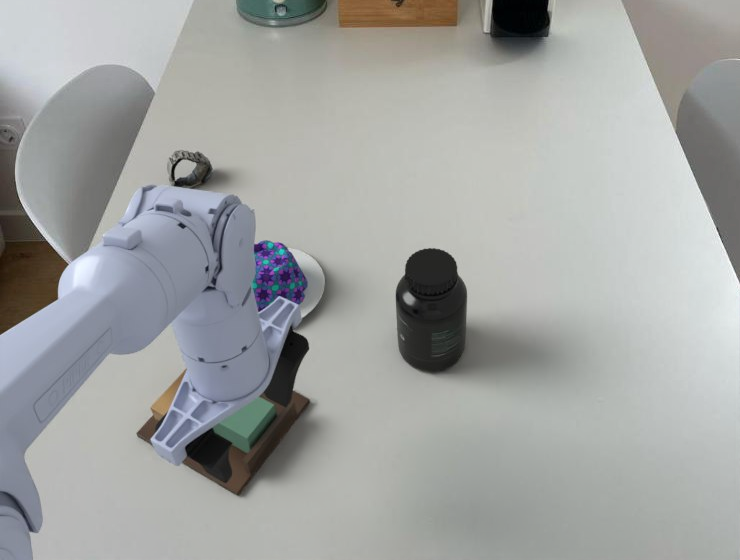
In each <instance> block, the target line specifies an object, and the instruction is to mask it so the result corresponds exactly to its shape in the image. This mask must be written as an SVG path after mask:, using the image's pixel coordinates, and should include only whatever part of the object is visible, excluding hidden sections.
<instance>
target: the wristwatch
mask: <svg viewBox="0 0 740 560" xmlns="http://www.w3.org/2000/svg"><path fill="white" fill-rule="evenodd" d="M183 160H184V161H185V160H186V161H190V162H192V163H195V164H196V166H195V167H194V168H193V170H192V171H191V173H189V174H188V175H187V176H183V177H181V176H180V177H179V178H177V179H176V177H175V176H176V175H175V173H176V172H175V170H176V169H177V166H178V164H179V163H181V162H182V161H183ZM166 170H167V174H168V181H169V183H170V186H175V187H181V188H188V189H193V188H194V187H197V186H198V185H203V184H206V182H207V181H208V179H209V178H210V177H211V175H212V173H213V170H214V168H213V166H212V163H211V161H210V160H209V158H208V157H207V156H205V155H204V154H203V152H200V151H195V152H192V151H189V150H184V149H179V150H175V151H173V153H172V154H171V156H169V157H168V158H167V162H166Z"/></svg>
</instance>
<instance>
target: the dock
mask: <svg viewBox="0 0 740 560" xmlns="http://www.w3.org/2000/svg"><path fill="white" fill-rule="evenodd" d="M186 371H187V368H186V367H185V369H184V370H183V372H182V373H180V374H179V376H178V377H177V378H176V379H175V380H174V381H173V382H172V383H171V385H169V387H168V388H167V389H166V390H165V391H164V392H163V393H162V394H161V395H160V396H159V397H158V398H157V399H156V400H155V401H154V403H153V404H152V405H151V406H150V410H151V412H152V416H151V417H150V418H149V419H148V420H147V421H146V422H145V423H143V425H142V426H141V427H140V428H139V430H137V432H136V433H135V434H136V436H137V437H138V438H139V439H141V440H142V441H144V442H146V443H147V444H149V445H151V446H152V447H153V445H152V442H151V440H150V439H151V438H152V437H153V435H154V434H155V427H156V424H157V423H158V422H159V420H160V419H161V418H162V417H163V416H164V415H165V414H166V413H167V412H168V410H169V408H170V406H171V404H172V402H173V400H174V397H175V395H176V393H177V391H178V388H179V386H180V384H181V382H182V380H183V377H184V375H185V373H186ZM259 397H261V398H263V399H265V400H267V401H268V402H270V403H272V404H274V405H275V409H276V413H277V417H276V418H275V420H274V421H273V422H272V423H271V425H270V426H269V427H268V428H267V430H266V431H265V432H264V434H263V435H262V436H261V437H260V439H259V440H258V441H257V442H256V444H255V445H254V446H253V447H252V449H251V450H250V451H249V452H248V453H246V452H244V451H242V450H241V449H239V448H237V447H235V446H234V445H231V447H230V450H229V462H230V465H231V469H232V477H231V478H230V479H229V481H228V482H227V483H223V482H222V481H220V480H218V479H217V478H215V477H213V476H212V475H210V474H208V473H207V472H206V471H205V470H204V468H203V467H202V466H201V465H200V464H199V463H197V462H196V461H194V460H192V459H191V458H189V457H187V456H186V458H185V459H184V460H183V461H182V463H181V464H183V465H185V466H186V467H188V468H190V469H191V470H193V471H194V472H196V473H198V474H200V475H201V476H203V477H205V478H206V479H208V480H210V481H212V482H213V483H215V484H217V485H218V486H219V487H221V488H223V489H225V490H227V491H228V492H229V493H231V494H233V495H235V496H237V497H239V496H240V494H241V493H242V492H243V491H244V490H245V488H246V487H247V486H248V484H249V483H250V481H252V479H253V477H254V476H255V475H256V474H257V472H258V471H259V470H260V468H261V467H262V466H263V464H264V463H265V462H266V461H267V459H268V458H269V456H270V455H271V454H272V453H273V451H274V450H275V449H276V448H277V446H278V445H279V444H280V443H281V441H282V440H283V438H284V437H285V436H286V435H287V434H288V432H289V431H290V430H291V428H292V427H293V426H294V424H295V423H296V421H297V420H298V419H299V418H300V416H301V415H302V414H303V412H304V411H305V410H306V408H308V406H309V405H310V403H311V400H310V398H308V397H307V396H305V395H302V394H301V393H298V392H296V391H295V390H293V393H292V398H291V401H290V403H289V405H288V406H287V407H286V408H285V407H283V406H282V405H280V404H278V403H276V402H274V401H272V400H270V399H268V398H266V396H265V394H264V392H263V393H262V394H261V395H260V396H259Z"/></svg>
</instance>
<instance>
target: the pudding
mask: <svg viewBox="0 0 740 560" xmlns="http://www.w3.org/2000/svg"><path fill="white" fill-rule="evenodd" d="M254 257H255V262H256V268H255V271H256V274H255V278H254V280H253V282H252V287H253V291H254V296H255V300H256V304H257V308H258V312H260V311H262V310H263V309H265V308H266V307H268V306H269V305H270V304H271V303H273V302H274V301H275V300H276V299H277V298H278V296H281V297H283V298H285V299H287V300H289V301H292V302H294V303H296V304H298V305H299V307H300V312H301V318H302V319H303V318H305V317H306V316H307V315H309V313H311V312H312V311H313V310H314V309H315V308H316V306H317V305H318V304H319V303H320V300H321V299H322V296H323V294H324V291H325V287H326V280H325V273H324V270H323V268H322V267H321V266H320V264H319V262H317V260H316V259H315V258H314V257H312V256H311V255H309V254H308V253H306V252H304V251H302V250H300V249H296V248H293V247H288V246H286V244H284V243H283V242H279V241H276V242H274V241H271V240H268V239H267V240H266V239H265V240H261V241H259V242H258V243H254Z"/></svg>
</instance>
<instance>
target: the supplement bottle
mask: <svg viewBox="0 0 740 560" xmlns="http://www.w3.org/2000/svg"><path fill="white" fill-rule="evenodd" d="M467 312H468V289H467V286H466V284H465V281H464V280H463V279H462V277H461V276H460V275H459V273H458V265H457V261H456V260H455V258H454V257H453V256H452V254H450V253H449V252H448V251H445V250H443V249H440V248H435V247H429V248H428V247H427V248H423V249H419V250H416V251H415V252H414V253H412V254H411V255H410V256H409V257H408V259H407V260H406V263H405V265H404V274H403V276H402V277H401V278H400V280H399V281H398V283H397V285H396V289H395V314H396V333H397V334H396V335H397V347H398V351H399V354H400V355H401V357H402V359H403V360H404V361H405V362H406V363H407V364H408V365H409V366H411V367H412V368H414V369H416V370H419V371H421V372H427V373H436V372H443V371H446V370H448V369H449V368H452V367H453V366H454V365H456V364H457V363H458V362H459V361H460V360H461V359H462V357H463V355H464V353H465V349H466V341H467V316H468V315H467Z"/></svg>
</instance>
